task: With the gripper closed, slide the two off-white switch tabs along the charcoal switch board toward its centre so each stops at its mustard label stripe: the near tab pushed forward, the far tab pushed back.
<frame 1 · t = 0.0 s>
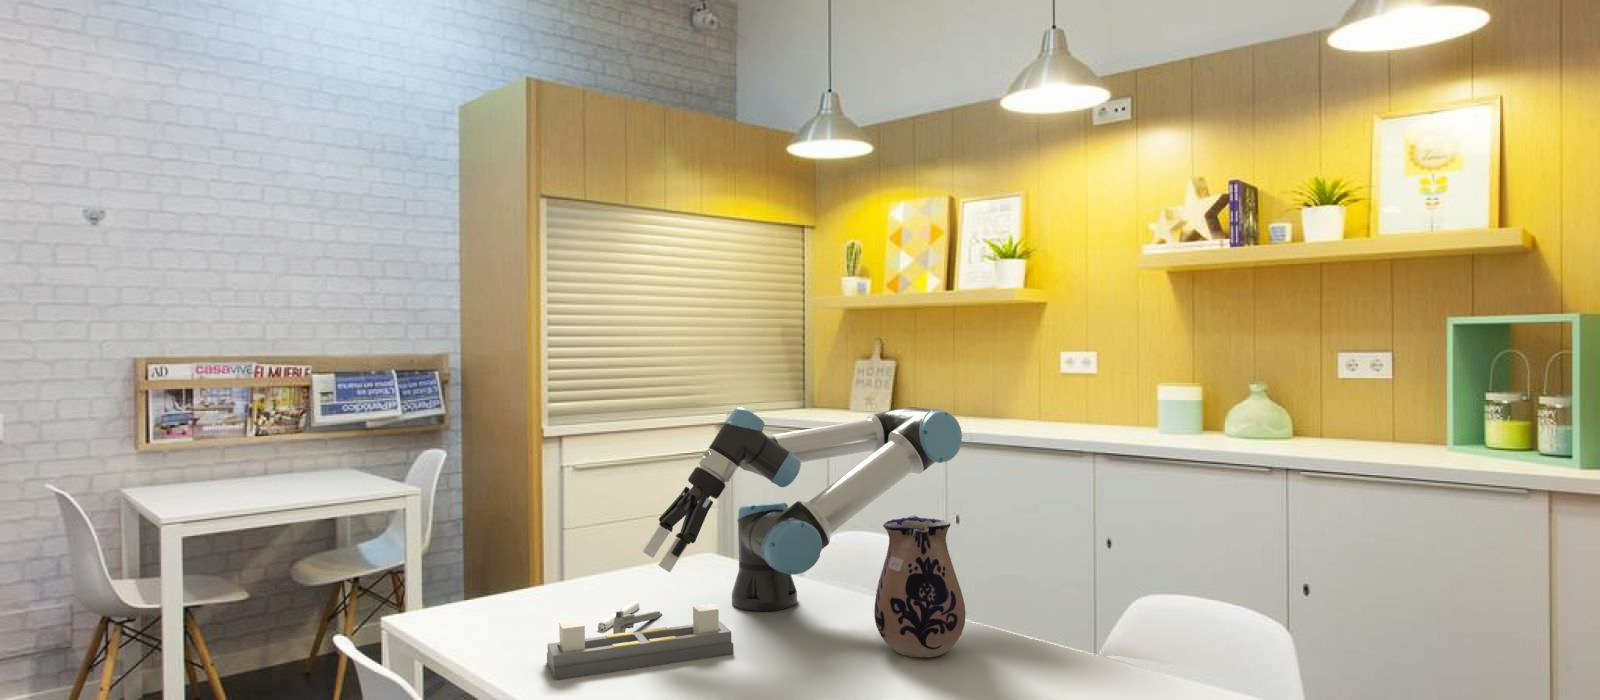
hand: (655, 561, 197), 15 cm above the table, tool tilted 35°, fingers open, 13 cm apart
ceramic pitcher: (917, 649, 187), on the table
switch board: (641, 658, 183), on the table
tab a: (705, 622, 188), point 5 cm above the table, slide at 0.0 cm
tab b: (572, 640, 178), point 5 cm above the table, slide at 0.0 cm
caliper: (639, 630, 203), on the table
marker: (621, 620, 210), on the table
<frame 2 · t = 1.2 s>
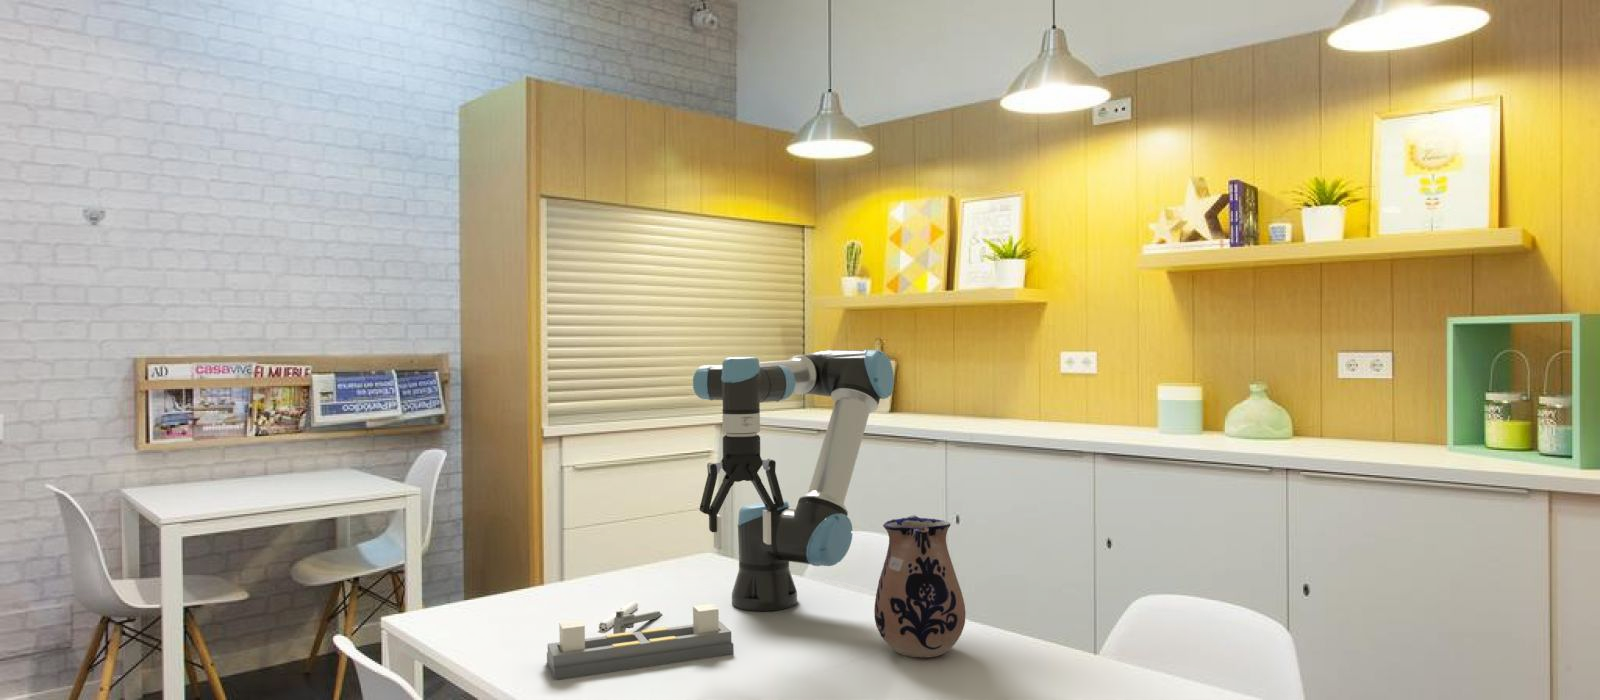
hand: (742, 545, 191), 20 cm above the table, tool pointing down, fingers open, 10 cm apart
nothing on the table moved.
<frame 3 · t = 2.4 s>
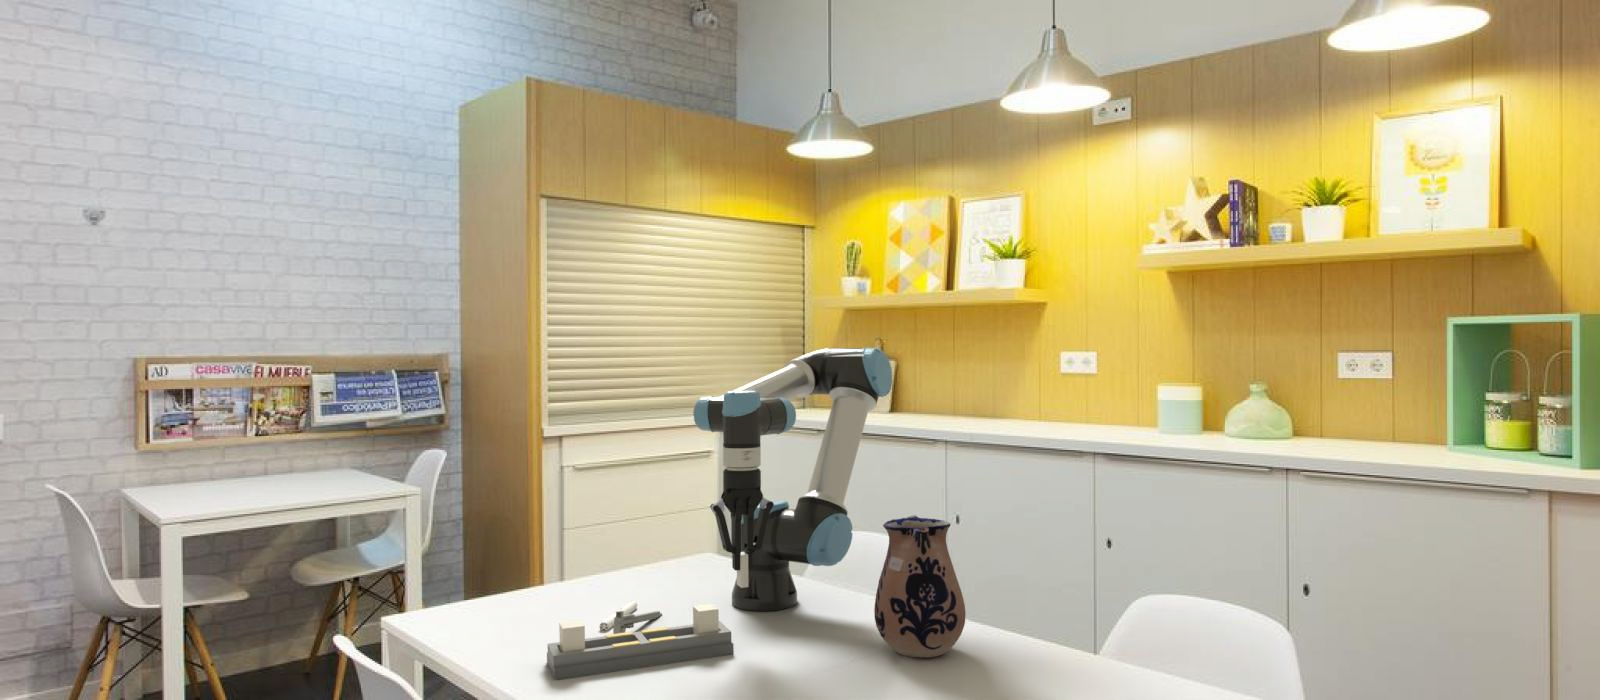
hand: (742, 585, 191), 12 cm above the table, tool pointing down, fingers closed
nothing on the table moved.
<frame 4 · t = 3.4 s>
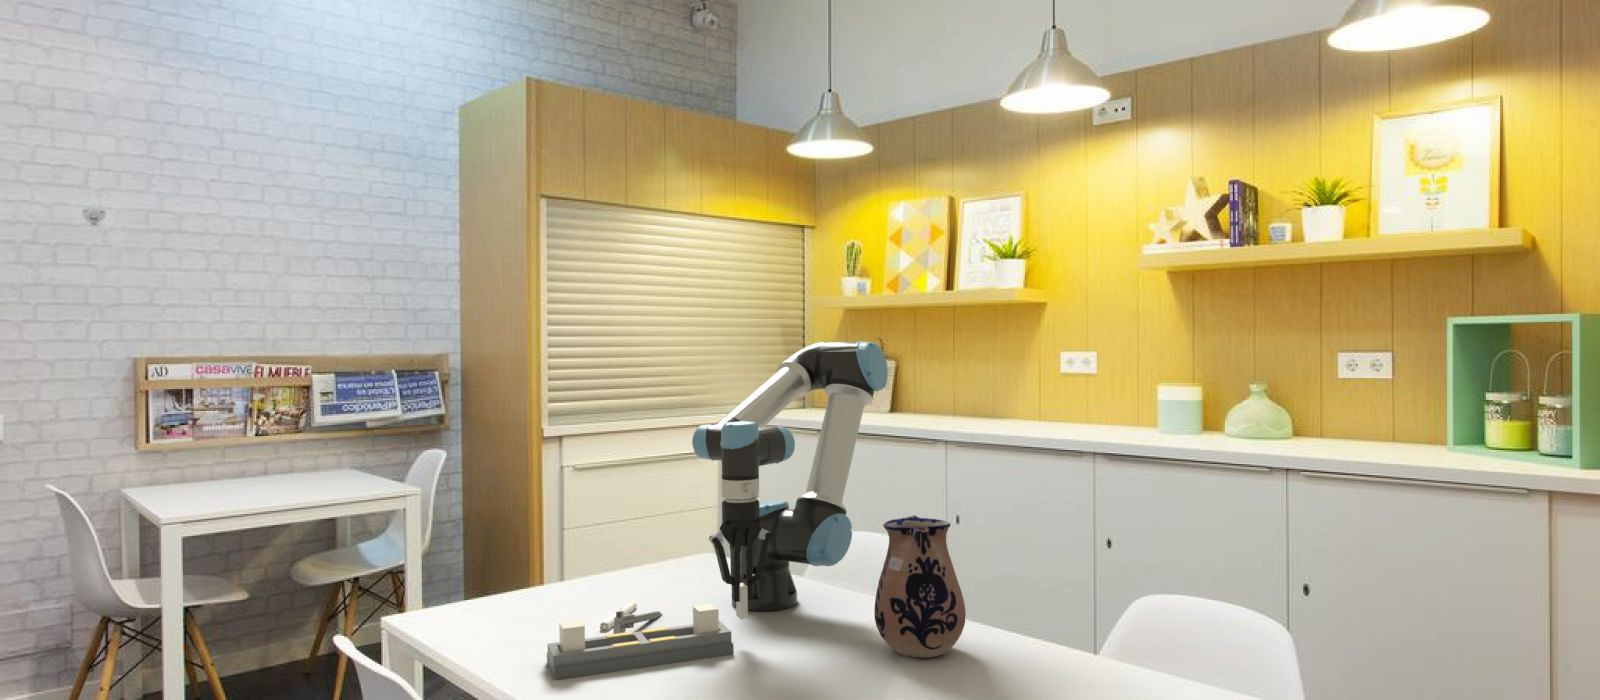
hand: (742, 616, 191), 5 cm above the table, tool pointing down, fingers closed
nothing on the table moved.
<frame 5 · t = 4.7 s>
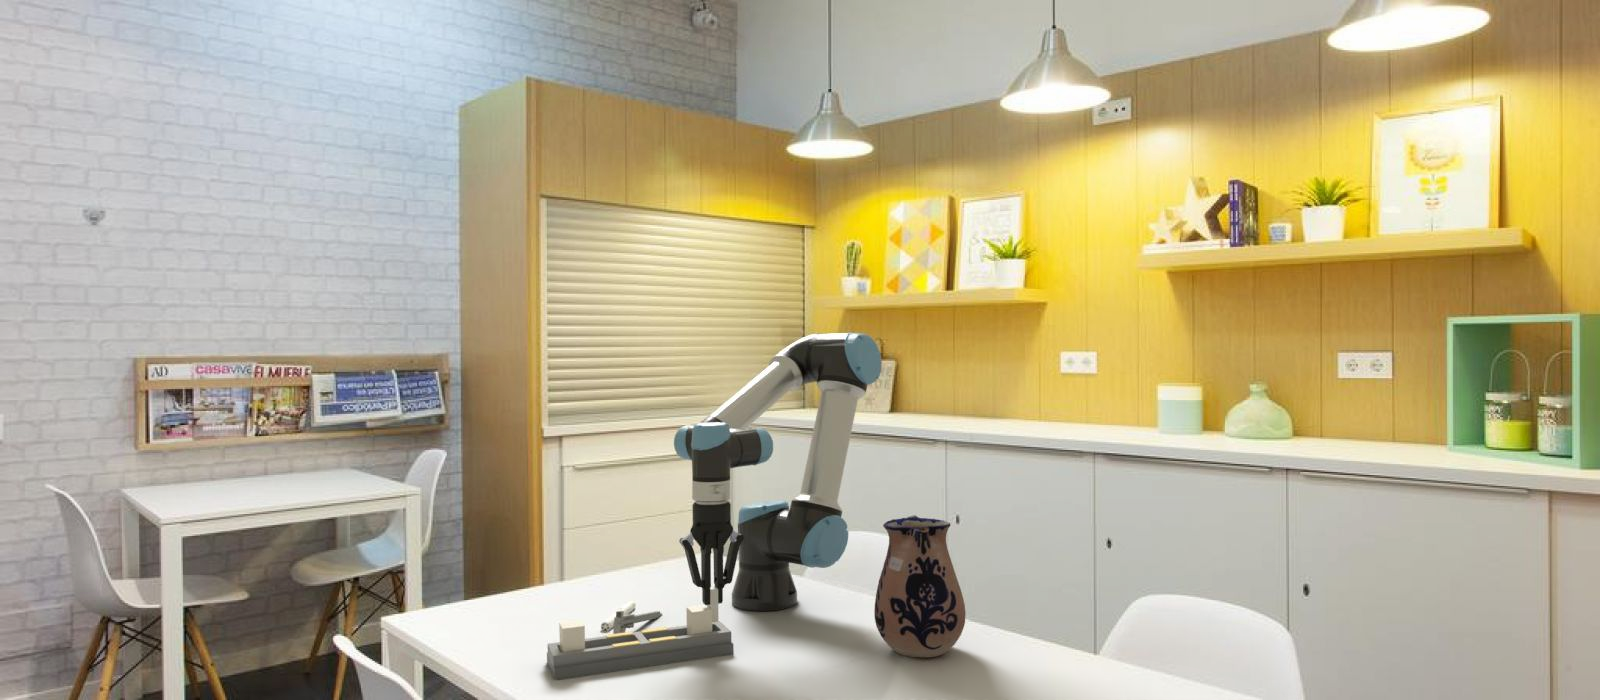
hand: (712, 620, 189), 6 cm above the table, tool pointing down, fingers closed
tab a: (699, 623, 188), point 5 cm above the table, slide at 1.3 cm, touching gripper
everything else where it was.
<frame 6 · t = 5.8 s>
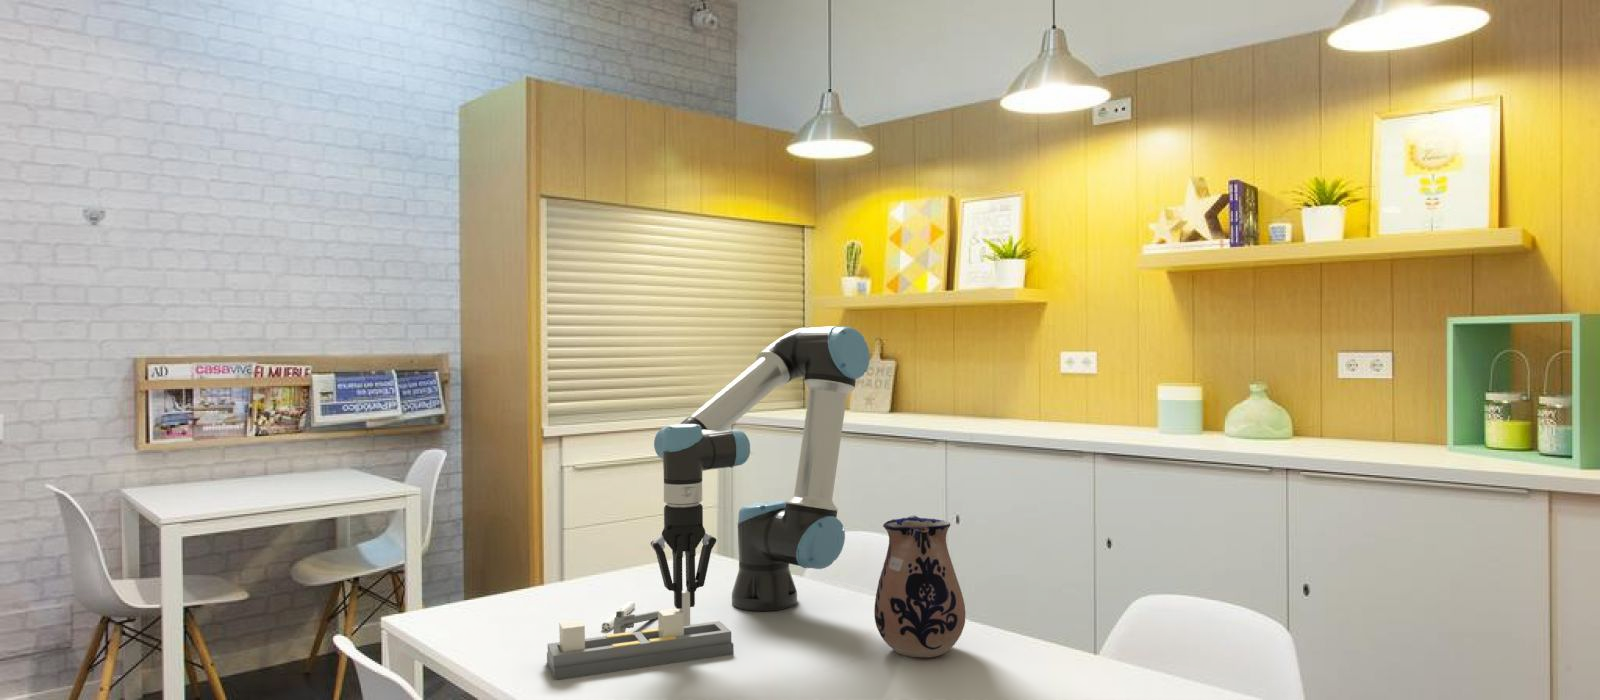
hand: (684, 624, 187), 6 cm above the table, tool pointing down, fingers closed
tab a: (671, 627, 186), point 5 cm above the table, slide at 7.1 cm, touching gripper
everything else where it was.
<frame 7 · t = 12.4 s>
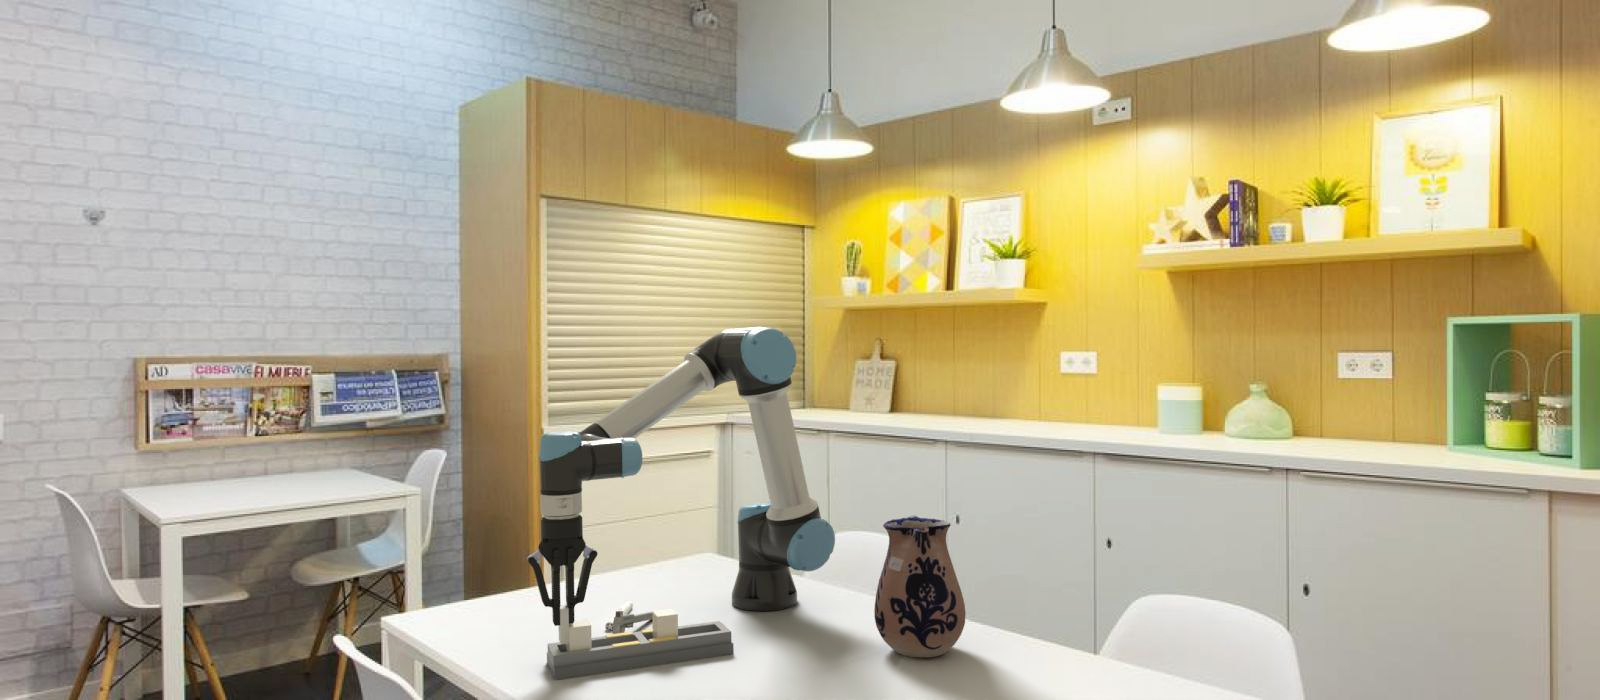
hand: (563, 641, 178), 5 cm above the table, tool pointing down, fingers closed
tab a: (665, 628, 185), point 5 cm above the table, slide at 8.2 cm
tab b: (578, 639, 179), point 5 cm above the table, slide at 1.2 cm, touching gripper
everything else where it was.
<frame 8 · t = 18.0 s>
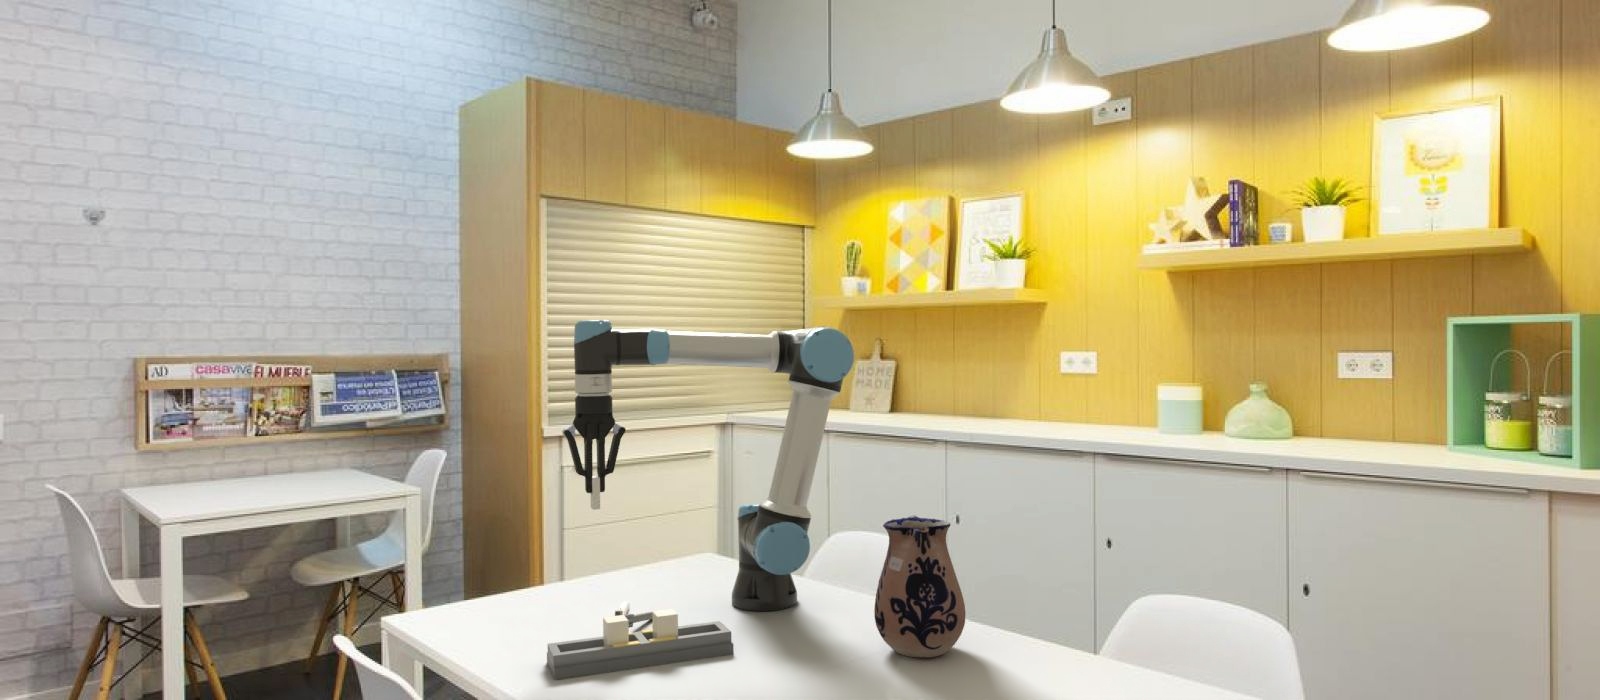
hand: (595, 508, 198), 26 cm above the table, tool pointing down, fingers closed
tab b: (615, 634, 182), point 5 cm above the table, slide at 8.2 cm
at the end: tab a slide at 8.2 cm; tab b slide at 8.2 cm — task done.
